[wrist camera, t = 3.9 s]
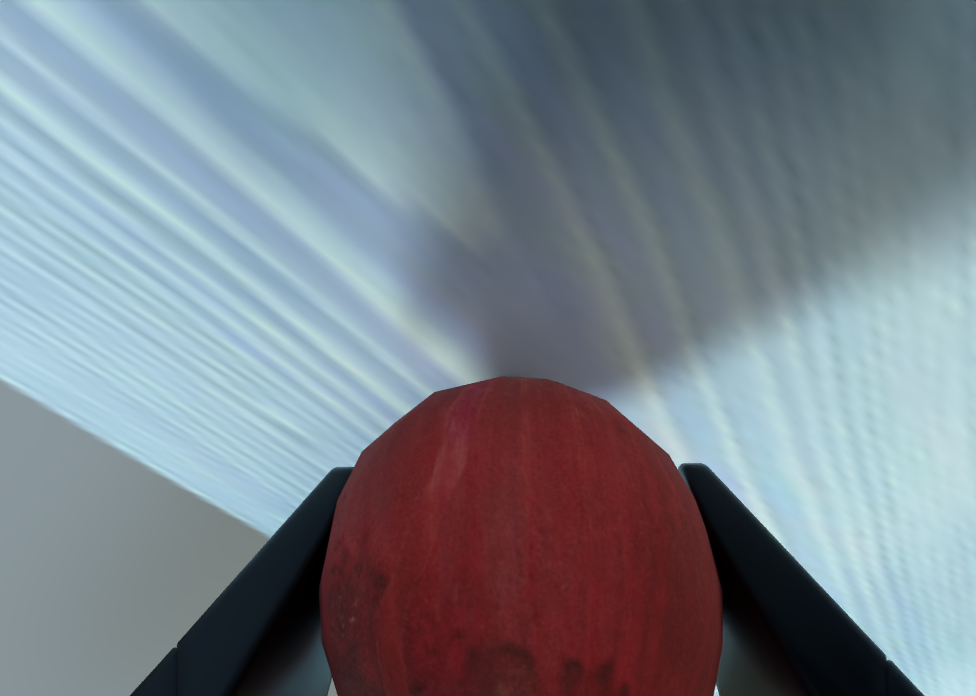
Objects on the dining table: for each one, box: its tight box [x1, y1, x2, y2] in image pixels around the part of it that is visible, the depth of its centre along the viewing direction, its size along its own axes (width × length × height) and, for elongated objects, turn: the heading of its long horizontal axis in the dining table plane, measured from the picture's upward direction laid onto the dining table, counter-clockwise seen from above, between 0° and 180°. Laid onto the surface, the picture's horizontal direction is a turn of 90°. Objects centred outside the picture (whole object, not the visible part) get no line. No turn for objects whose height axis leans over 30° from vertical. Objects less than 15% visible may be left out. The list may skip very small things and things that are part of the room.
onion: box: [319, 376, 723, 696], centre depth 7 cm, size 6×6×8 cm
